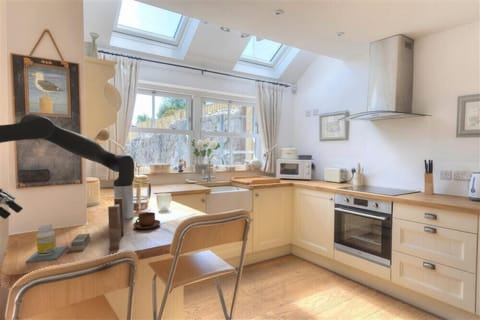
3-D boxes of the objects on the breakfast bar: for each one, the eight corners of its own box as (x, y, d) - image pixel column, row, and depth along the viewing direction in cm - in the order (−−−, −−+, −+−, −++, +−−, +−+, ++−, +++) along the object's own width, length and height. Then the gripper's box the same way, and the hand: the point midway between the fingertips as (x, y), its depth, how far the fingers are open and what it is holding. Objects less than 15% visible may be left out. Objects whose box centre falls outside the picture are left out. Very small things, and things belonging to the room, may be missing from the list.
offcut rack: (78, 239, 112) (76, 200, 111) (123, 234, 117) (122, 197, 116) (65, 255, 96) (63, 210, 95) (118, 249, 101) (117, 206, 100)
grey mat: (39, 250, 100) (39, 249, 100) (67, 247, 103) (67, 246, 103) (25, 262, 90) (25, 261, 90) (57, 259, 93) (57, 257, 93)
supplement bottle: (43, 250, 99) (42, 223, 98) (59, 249, 99) (58, 223, 99) (33, 256, 93) (32, 228, 93) (50, 256, 94) (49, 228, 93)
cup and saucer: (152, 231, 121) (151, 218, 121) (127, 230, 124) (127, 217, 123) (164, 224, 133) (164, 211, 132) (142, 222, 135) (142, 210, 135)
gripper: (-34, 175, 82) (13, 209, 87) (-8, 171, 96) (32, 201, 100) (-56, 193, 81) (-6, 228, 85) (-26, 186, 95) (15, 216, 99)
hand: (14, 213), depth 93 cm, fingers open, 8 cm apart
